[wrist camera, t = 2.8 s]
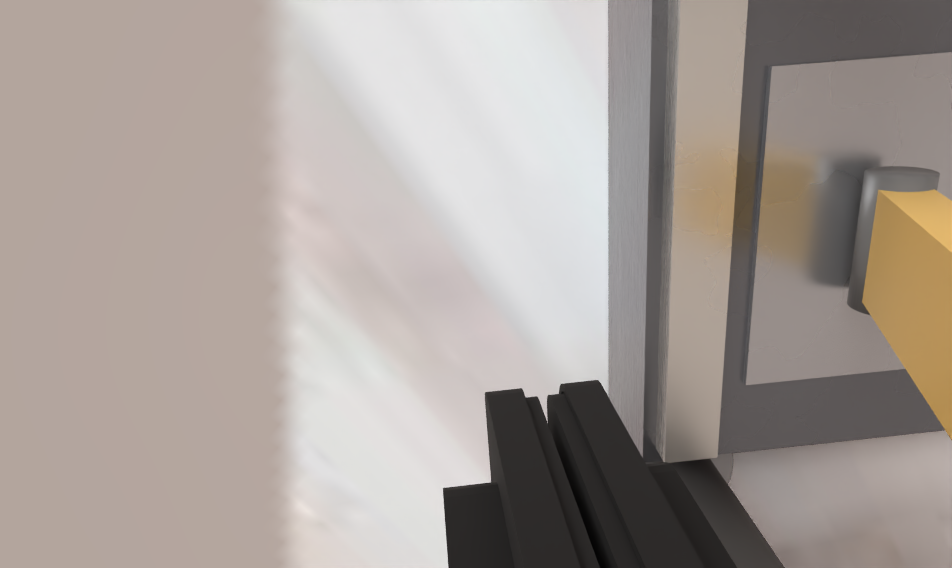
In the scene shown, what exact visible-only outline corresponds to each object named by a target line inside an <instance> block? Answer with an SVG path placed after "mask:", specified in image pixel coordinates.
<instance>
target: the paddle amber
mask: <svg viewBox="0 0 952 568" xmlns="http://www.w3.org/2000/svg"><path fill="white" fill-rule="evenodd" d="M939 177H940V173H939V172H937V171H934V170H931V169H926V168H919V167H907V166H883V167H874V168H870V169H867V170H865V172H864V179H863V186H862V194H861V201H860V209H859V216H858V223H857V231H856V238H855V245H854V253H853V260H852V268H851V275H850V282H849V290H848V297H847V304H848V306H849V307H850V308H852V309H854V310H856V311H858V312H861V313H864V314H867V315H871V317H872V318H873V320H874V321H875V323H876V324H877V326H878V327H879V329H880V330H881V332H882V333H883V335H884V337H885V338H886V340H887V341H888V343H889V344H890V346H891V347H892V349H893V350H894V352H895V353H896V355H897V357H898V358H899V360H900V361H901V363H902V364H903V366H904V367H905V369H906V370H907V372H908V374H909V375H910V377H911V378H912V380H913V381H914V383H915V384H916V386H917V387H918V389H919V390H920V392H921V394H922V395H923V397H924V398H925V400H926V401H927V403H928V404H929V406H930V407H931V409H932V410H933V412H934V414H935V415H936V417H937V418H938V420H939V421H940V423H941V424H942V426H943V427H944V429H945V430H946V432H947V434H948V435H949V437H950V438H951V440H952V201H951V200H950V199H948V198H947V197H945V196H944V195H942V194H941V193H939V192H938V191H937V188H938V182H939Z"/></svg>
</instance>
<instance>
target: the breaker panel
mask: <svg viewBox="0 0 952 568" xmlns="http://www.w3.org/2000/svg"><path fill="white" fill-rule="evenodd" d="M608 27H609V399H610V401H611V403H612V404H613V406H614V408H615V410H616V411H617V413H618V415H619V417H620V419H621V420H622V422H623V424H624V426H625V427H626V429H627V431H628V433H629V435H630V436H631V438H632V440H633V442H634V443H635V445H636V447H637V449H638V451H639V452H640V454H641V456H642V458H643V459H644V461H645V462H654V461H664V462H668V463H672V462H681V461H691V460H700V459H709V458H717V456H718V455H719V454H729V453H738V452H747V451H757V450H766V449H775V448H784V447H794V446H803V445H812V444H822V443H831V442H840V441H849V440H859V439H868V438H877V437H887V436H896V435H905V434H914V433H924V432H933V431H942V430H945V429H944V427H943V426H942V424H941V423H940V421H939V420H938V418H937V417H936V415H935V414H934V412H933V410H932V409H931V407H930V406H929V404H928V403H927V401H926V400H925V398H924V397H923V395H922V394H921V392H920V390H919V389H918V387H917V386H916V384H915V383H914V381H913V380H912V378H911V377H910V375H909V374H908V372H907V370H906V369H905V367H904V366H903V364H902V363H901V361H900V360H899V358H898V357H897V355H896V353H895V352H894V350H893V349H892V347H891V346H890V344H889V343H888V341H887V340H886V338H885V337H884V335H883V333H882V332H881V330H880V329H879V327H878V326H877V324H876V323H875V321H874V320H873V318H872V317H871V315H867V314H864V313H861V312H858V311H856V310H854V309H852V308H850V307H849V306H848V304H847V297H848V290H849V282H850V275H851V268H852V260H853V253H854V245H855V238H856V231H857V223H858V216H859V209H860V201H861V194H862V186H863V179H864V172H865V170H867V169H870V168H874V167H883V166H907V167H919V168H926V169H931V170H934V171H937V172H939V173H940V177H939V182H938V188H937V191H938V192H939V193H941V194H942V195H944V196H945V197H947V198H948V199H950V200H951V201H952V0H608Z"/></svg>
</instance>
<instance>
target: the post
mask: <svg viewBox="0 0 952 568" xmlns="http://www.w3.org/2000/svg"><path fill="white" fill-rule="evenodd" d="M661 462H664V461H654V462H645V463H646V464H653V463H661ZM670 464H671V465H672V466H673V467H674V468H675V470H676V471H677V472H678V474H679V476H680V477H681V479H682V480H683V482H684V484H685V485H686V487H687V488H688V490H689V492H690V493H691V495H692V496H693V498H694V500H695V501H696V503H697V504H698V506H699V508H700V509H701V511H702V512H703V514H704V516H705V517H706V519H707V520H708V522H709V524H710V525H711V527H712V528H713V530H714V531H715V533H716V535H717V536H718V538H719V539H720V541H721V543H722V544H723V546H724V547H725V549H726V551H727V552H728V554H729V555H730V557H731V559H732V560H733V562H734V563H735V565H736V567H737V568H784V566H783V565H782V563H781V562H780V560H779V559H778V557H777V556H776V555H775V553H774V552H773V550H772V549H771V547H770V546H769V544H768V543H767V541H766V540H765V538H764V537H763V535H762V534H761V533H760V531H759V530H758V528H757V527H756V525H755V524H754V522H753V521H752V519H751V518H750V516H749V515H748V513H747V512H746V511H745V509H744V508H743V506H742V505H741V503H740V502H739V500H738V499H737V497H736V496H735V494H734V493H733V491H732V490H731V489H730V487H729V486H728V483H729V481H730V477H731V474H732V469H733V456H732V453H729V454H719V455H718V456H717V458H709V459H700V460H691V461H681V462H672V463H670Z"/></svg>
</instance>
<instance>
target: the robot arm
mask: <svg viewBox="0 0 952 568" xmlns="http://www.w3.org/2000/svg"><path fill="white" fill-rule="evenodd" d="M485 405H486V418H487V431H488V444H489V457H490V470H491V483H483V484H475V485H466V486H458V487H449V488H443V495H444V510H445V524H446V537H447V551H448V565H449V568H737V567H736V565H735V563H734V562H733V560H732V559H731V557H730V555H729V554H728V552H727V551H726V549H725V547H724V546H723V544H722V543H721V541H720V539H719V538H718V536H717V535H716V533H715V531H714V530H713V528H712V527H711V525H710V524H709V522H708V520H707V519H706V517H705V516H704V514H703V512H702V511H701V509H700V508H699V506H698V504H697V503H696V501H695V500H694V498H693V496H692V495H691V493H690V492H689V490H688V488H687V487H686V485H685V484H684V482H683V480H682V479H681V477H680V476H679V474H678V472H677V471H676V470H675V468H674V467H673V466H672V465H671V464H670V463H668V462H661V463H653V464H646V463H645V461H644V459H643V458H642V456H641V454H640V452H639V451H638V449H637V447H636V445H635V443H634V442H633V440H632V438H631V436H630V435H629V433H628V431H627V429H626V427H625V426H624V424H623V422H622V420H621V419H620V417H619V415H618V413H617V411H616V410H615V408H614V406H613V404H612V403H611V401H610V399H609V397H608V396H607V394H606V392H605V390H604V388H603V387H602V385H601V383H600V382H599V381H598V380H593V381H584V382H575V383H566V384H561V385H560V390H559V394H555V395H548V397H547V414H548V423H547V421H546V418H545V415H544V412H543V410H542V407H541V404H540V401H539V399H538V397H528V398H525V395H524V392H523V390H522V389H521V388H520V389H511V390H502V391H493V392H485Z"/></svg>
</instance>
